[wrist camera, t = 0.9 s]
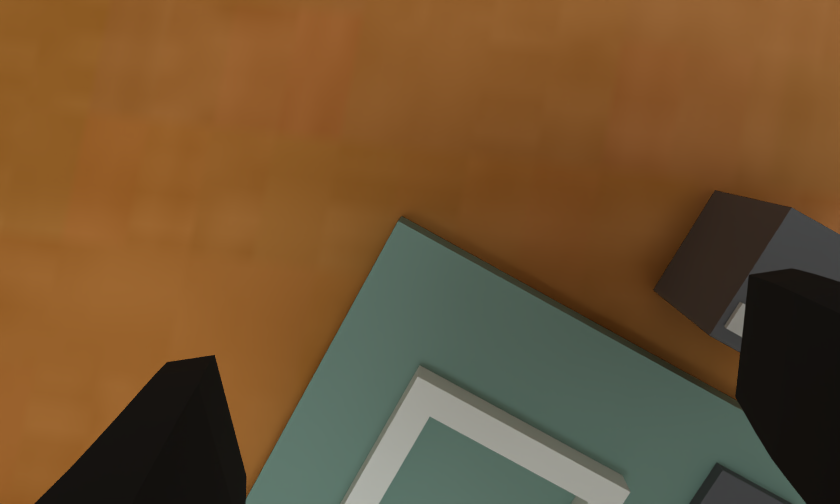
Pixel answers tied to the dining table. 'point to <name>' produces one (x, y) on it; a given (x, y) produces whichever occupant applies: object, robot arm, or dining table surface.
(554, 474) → the board
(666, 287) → the dark grey block
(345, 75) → the dining table surface
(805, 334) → the robot arm
